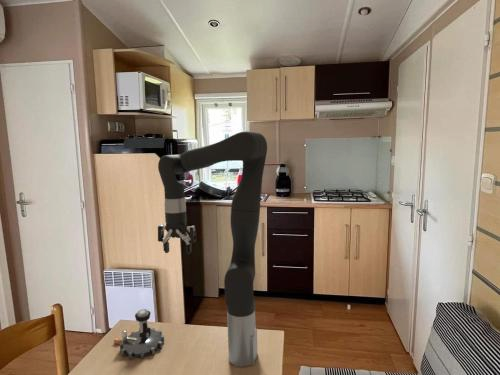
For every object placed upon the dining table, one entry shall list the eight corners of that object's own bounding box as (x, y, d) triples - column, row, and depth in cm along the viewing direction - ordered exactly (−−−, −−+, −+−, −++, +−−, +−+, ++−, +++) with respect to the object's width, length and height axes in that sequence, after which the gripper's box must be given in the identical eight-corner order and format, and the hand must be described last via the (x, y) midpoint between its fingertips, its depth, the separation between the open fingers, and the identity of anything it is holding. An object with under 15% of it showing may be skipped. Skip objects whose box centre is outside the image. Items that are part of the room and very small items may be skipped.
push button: (144, 345, 109) (142, 318, 108) (131, 343, 110) (129, 316, 109) (154, 334, 115) (153, 308, 114) (142, 332, 117) (140, 307, 115)
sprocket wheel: (171, 335, 118) (170, 320, 117) (150, 361, 103) (149, 345, 103) (136, 330, 121) (134, 316, 120) (111, 356, 107) (109, 340, 106)
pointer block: (124, 341, 115) (123, 337, 115) (120, 344, 113) (120, 341, 113) (117, 340, 116) (116, 336, 116) (113, 343, 114) (113, 340, 114)
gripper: (152, 211, 111) (155, 255, 113) (189, 212, 108) (191, 257, 110) (162, 207, 118) (165, 248, 120) (197, 208, 115) (199, 250, 117)
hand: (177, 253), depth 115 cm, fingers open, 8 cm apart
